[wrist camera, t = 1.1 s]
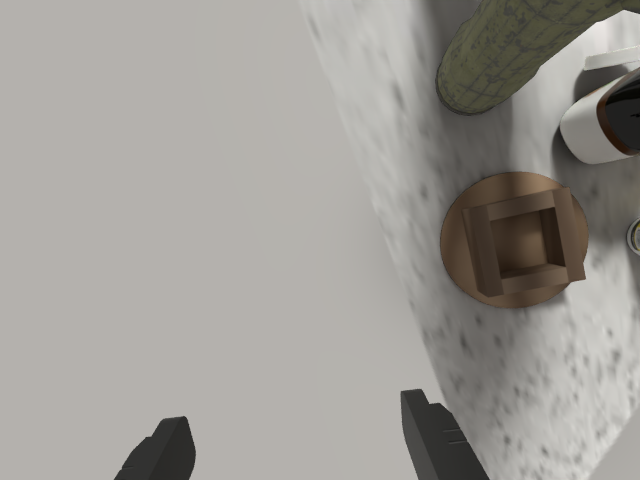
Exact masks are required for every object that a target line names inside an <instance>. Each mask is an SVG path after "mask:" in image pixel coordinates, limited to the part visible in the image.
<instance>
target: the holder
mask: <svg viewBox="0 0 640 480" xmlns="http://www.w3.org/2000/svg"><path fill="white" fill-rule="evenodd" d="M588 236H589V235H588V225H587V222H586V218H585V215H584V213H583V210H582V208H581V206H580V205H579V203H578V201H577V200H576V199H575V198H574V196H573V195H572V194H571V193H570V187H563V186H562V185H560V184H559V183H557V182H556V181H554V180H552V179H550V178H548V177H545V176H542V175H539V174H534V173H529V172H508V173H503V174H498V175H495V176H491V177H488V178H486V179H483V180H481V181H479V182H477V183H476V184H474V185H472V186H471V187H469V188H468V189H467V190H466V191H464V192H463V193H462V194H461V195H460V196H459V197H458V198H457V199H456V201H455V202H454V203H453V205H452V206H451V208H450V209H449V211H448V213H447V215H446V217H445V220H444V222H443V226H442V230H441V237H440V248H441V255H442V259H443V262H444V265H445V267H446V269H447V272H448V273H449V275H450V276H451V278H452V279H453V281H454V282H455V283H456V284H457V285H458V286H459V287H460V288H461V289H462V290H463V291H464V292H466V293H467V294H469V295H470V296H471V297H473V298H475V299H477V300H479V301H480V302H483V303H486V304H488V305H492V306H496V307H502V308H523V307H528V306H533V305H536V304H539V303H542V302H544V301H546V300H548V299H550V298H552V297H554V296H555V295H557V294H558V293H560V292H561V291H562V290H563V289H564V288H565V287H567V286H568V285H569V284H570V282H574V281H580V280H585V279H586V276H585V271H584V265H583V262H584V259H585V256H586V253H587V248H588Z"/></svg>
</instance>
